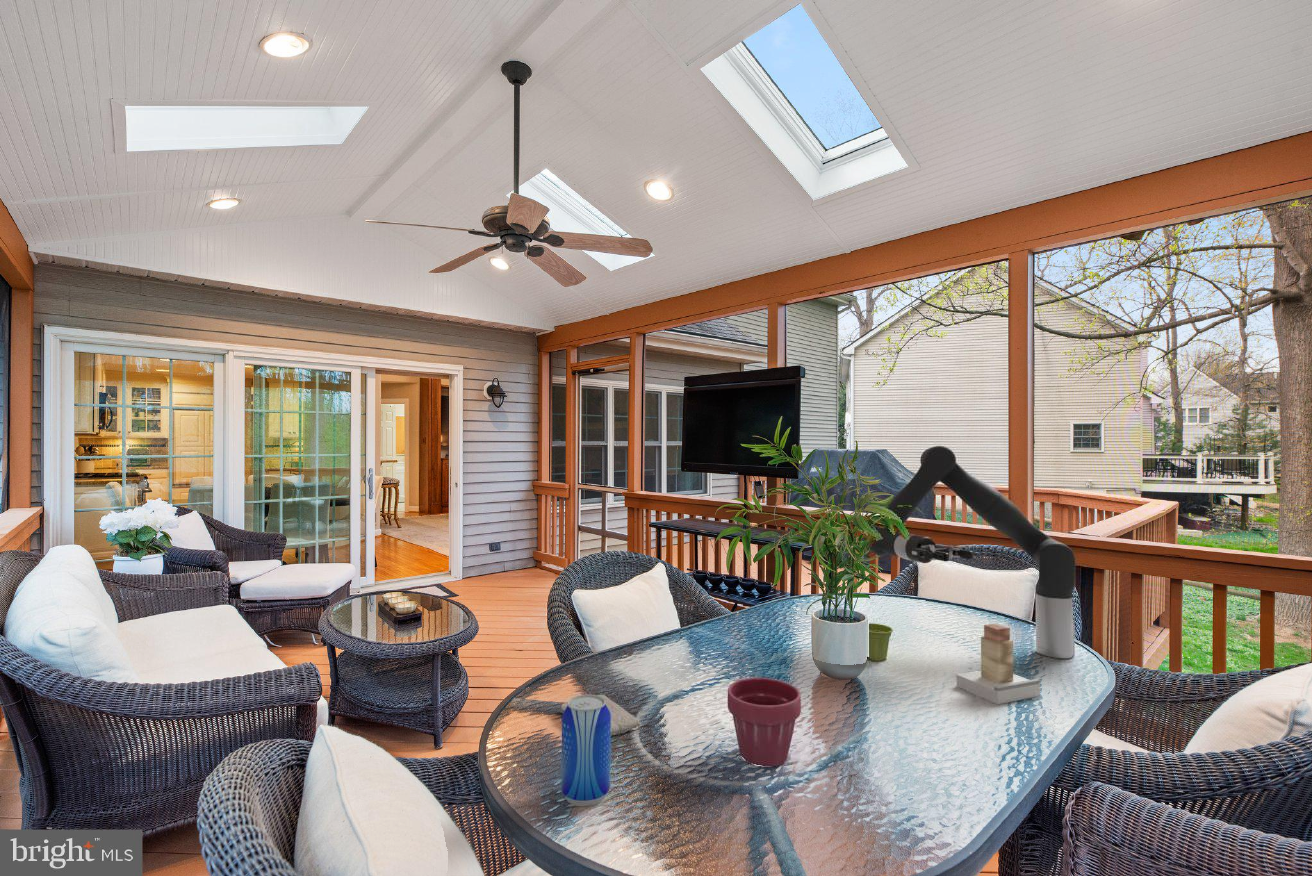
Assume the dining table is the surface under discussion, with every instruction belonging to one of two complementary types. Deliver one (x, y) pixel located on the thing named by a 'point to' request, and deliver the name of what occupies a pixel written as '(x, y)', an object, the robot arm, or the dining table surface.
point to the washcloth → (616, 716)
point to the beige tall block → (997, 654)
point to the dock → (998, 687)
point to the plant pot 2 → (878, 641)
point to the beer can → (585, 750)
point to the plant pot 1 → (764, 718)
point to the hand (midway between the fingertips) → (960, 556)
